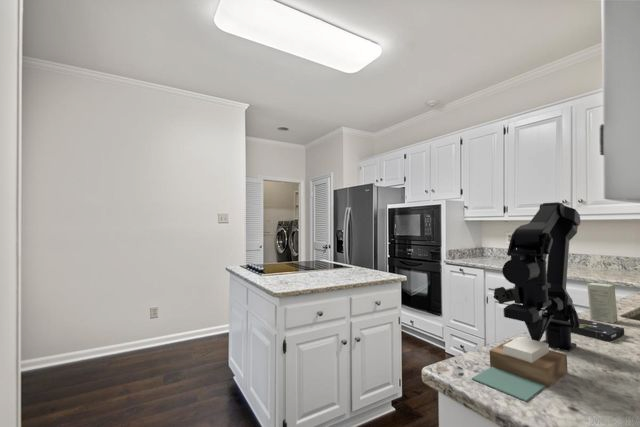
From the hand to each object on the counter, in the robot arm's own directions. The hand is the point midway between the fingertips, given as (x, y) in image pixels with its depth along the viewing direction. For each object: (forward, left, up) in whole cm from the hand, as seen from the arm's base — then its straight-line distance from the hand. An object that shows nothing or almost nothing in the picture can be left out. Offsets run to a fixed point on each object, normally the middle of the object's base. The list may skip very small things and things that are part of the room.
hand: (535, 342), depth 76 cm
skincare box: (-53, 0, -5) cm, 53 cm away
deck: (+5, 0, -5) cm, 7 cm away
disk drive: (-36, 0, -6) cm, 36 cm away
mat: (+15, 0, -5) cm, 16 cm away
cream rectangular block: (+5, 0, -1) cm, 6 cm away
